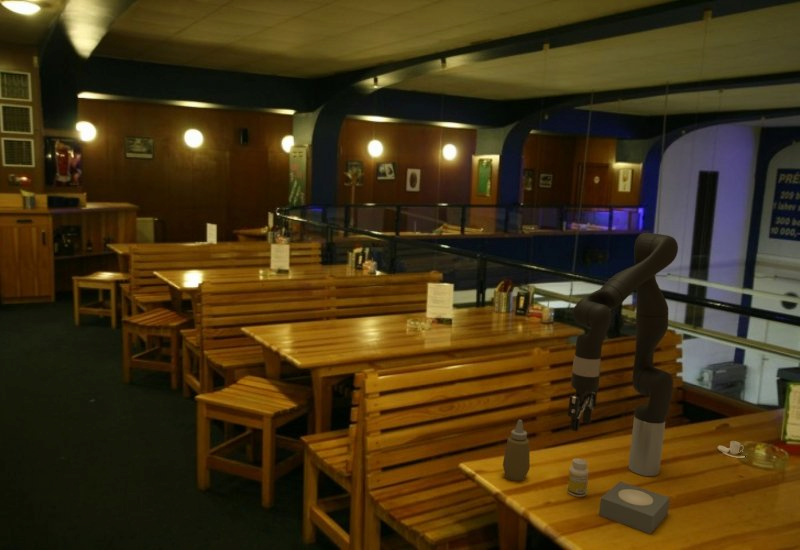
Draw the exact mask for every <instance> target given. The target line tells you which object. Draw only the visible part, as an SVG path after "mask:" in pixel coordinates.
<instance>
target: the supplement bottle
mask: <svg viewBox="0 0 800 550" xmlns="http://www.w3.org/2000/svg"><path fill="white" fill-rule="evenodd" d="M587 465H588V462H587V460H585V459H584V458H579V457H577V458H573V459H572V465H571V466H570V467H569V469H568V483H567V493H568V494H570V495H571V496H572V497H573V496H574V497H577V498H578V497H580V498H582V497H585V496H586V495H587V492H588V482H589V473H590V472H589V469H588V468H587Z"/></svg>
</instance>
